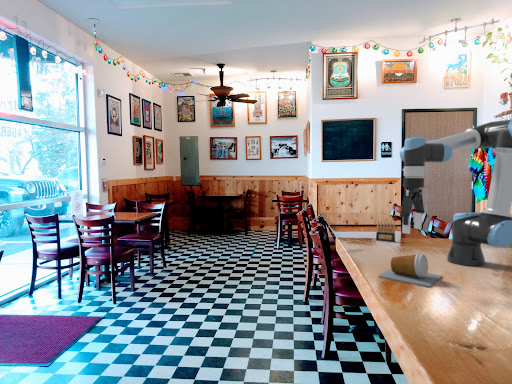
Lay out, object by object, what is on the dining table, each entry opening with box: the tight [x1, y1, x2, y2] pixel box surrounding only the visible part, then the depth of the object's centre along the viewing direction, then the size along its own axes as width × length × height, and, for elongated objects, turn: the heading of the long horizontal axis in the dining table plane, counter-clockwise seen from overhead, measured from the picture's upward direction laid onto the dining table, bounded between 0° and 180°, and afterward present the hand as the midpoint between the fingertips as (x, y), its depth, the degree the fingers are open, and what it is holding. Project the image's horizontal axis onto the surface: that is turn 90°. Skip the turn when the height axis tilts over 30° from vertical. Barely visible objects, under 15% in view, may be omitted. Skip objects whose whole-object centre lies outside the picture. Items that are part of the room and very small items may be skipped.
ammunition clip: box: [375, 220, 396, 243], centre depth 220 cm, size 11×2×12 cm, turn 62°
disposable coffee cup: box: [390, 253, 429, 278], centre depth 148 cm, size 10×10×12 cm
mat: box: [378, 269, 443, 288], centre depth 148 cm, size 17×19×1 cm
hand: (412, 231), depth 147 cm, fingers open, 13 cm apart
